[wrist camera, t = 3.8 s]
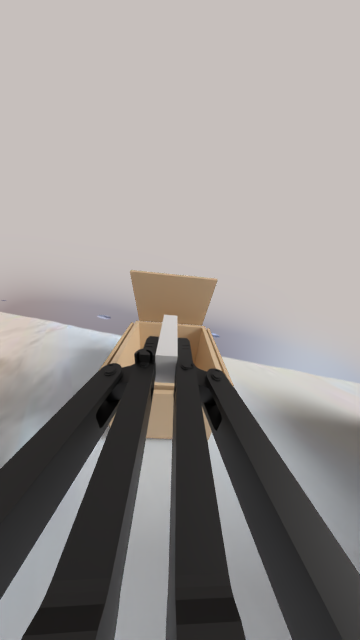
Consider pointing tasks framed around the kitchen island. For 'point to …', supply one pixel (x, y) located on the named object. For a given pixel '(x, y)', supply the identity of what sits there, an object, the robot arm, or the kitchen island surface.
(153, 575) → the kitchen island surface
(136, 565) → the kitchen island surface
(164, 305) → the front flap
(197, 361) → the carton
